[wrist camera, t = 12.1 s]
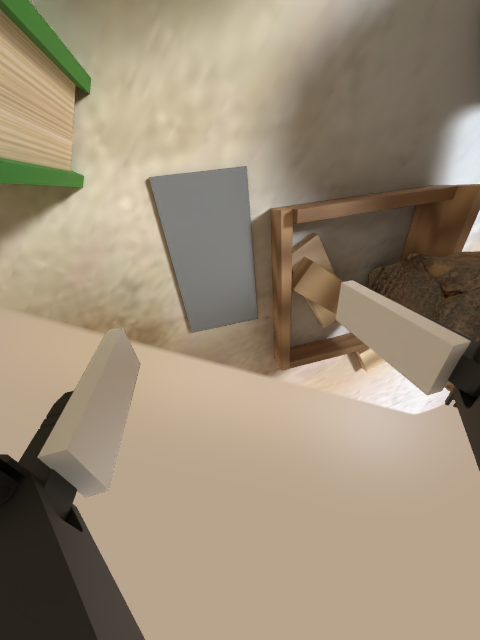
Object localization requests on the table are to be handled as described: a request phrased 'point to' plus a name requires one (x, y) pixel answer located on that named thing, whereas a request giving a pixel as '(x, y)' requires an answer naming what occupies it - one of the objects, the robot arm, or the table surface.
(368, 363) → the offcut
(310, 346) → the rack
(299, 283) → the offcut
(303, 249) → the offcut
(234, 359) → the table surface
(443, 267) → the brown rock
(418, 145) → the table surface
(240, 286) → the mat
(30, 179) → the hardback book
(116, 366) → the robot arm
